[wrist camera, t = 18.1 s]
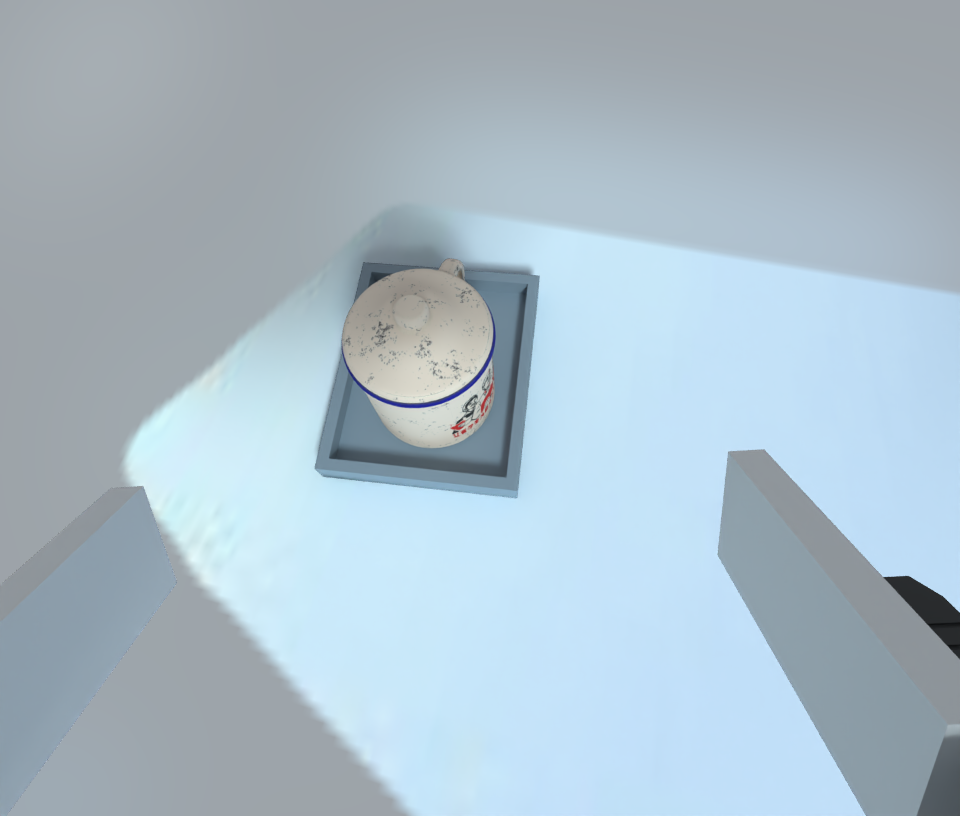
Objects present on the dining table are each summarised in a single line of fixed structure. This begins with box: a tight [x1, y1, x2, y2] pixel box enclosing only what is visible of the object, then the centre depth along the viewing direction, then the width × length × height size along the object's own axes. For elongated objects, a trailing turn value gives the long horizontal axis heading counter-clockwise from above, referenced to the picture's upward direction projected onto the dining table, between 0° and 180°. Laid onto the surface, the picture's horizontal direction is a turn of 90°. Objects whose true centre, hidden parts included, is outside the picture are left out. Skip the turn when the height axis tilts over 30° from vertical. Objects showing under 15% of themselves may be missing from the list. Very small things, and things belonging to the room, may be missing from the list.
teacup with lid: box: [342, 259, 496, 448], centre depth 37 cm, size 12×9×12 cm
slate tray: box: [315, 262, 539, 498], centre depth 42 cm, size 14×17×2 cm
